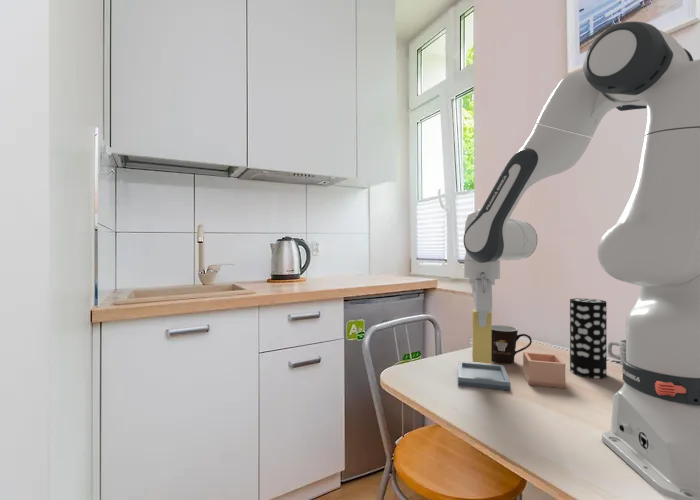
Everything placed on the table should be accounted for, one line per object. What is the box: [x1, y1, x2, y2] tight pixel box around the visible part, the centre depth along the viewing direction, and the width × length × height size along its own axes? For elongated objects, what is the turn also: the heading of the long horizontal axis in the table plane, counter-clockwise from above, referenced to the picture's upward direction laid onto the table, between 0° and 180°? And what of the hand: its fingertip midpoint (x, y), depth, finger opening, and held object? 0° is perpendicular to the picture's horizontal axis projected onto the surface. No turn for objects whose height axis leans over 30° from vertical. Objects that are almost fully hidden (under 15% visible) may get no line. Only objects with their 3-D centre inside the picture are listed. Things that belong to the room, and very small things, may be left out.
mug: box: [607, 339, 626, 366], centre depth 105 cm, size 10×7×7 cm, turn 32°
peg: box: [471, 308, 493, 364], centre depth 93 cm, size 4×4×13 cm
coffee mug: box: [491, 324, 533, 365], centre depth 106 cm, size 12×9×10 cm
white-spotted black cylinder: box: [569, 297, 608, 379], centre depth 96 cm, size 8×8×20 cm
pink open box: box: [522, 351, 566, 389], centre depth 91 cm, size 8×8×6 cm
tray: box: [457, 361, 511, 392], centre depth 93 cm, size 13×12×2 cm
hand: (481, 323), depth 93 cm, fingers closed on peg, 4 cm apart
